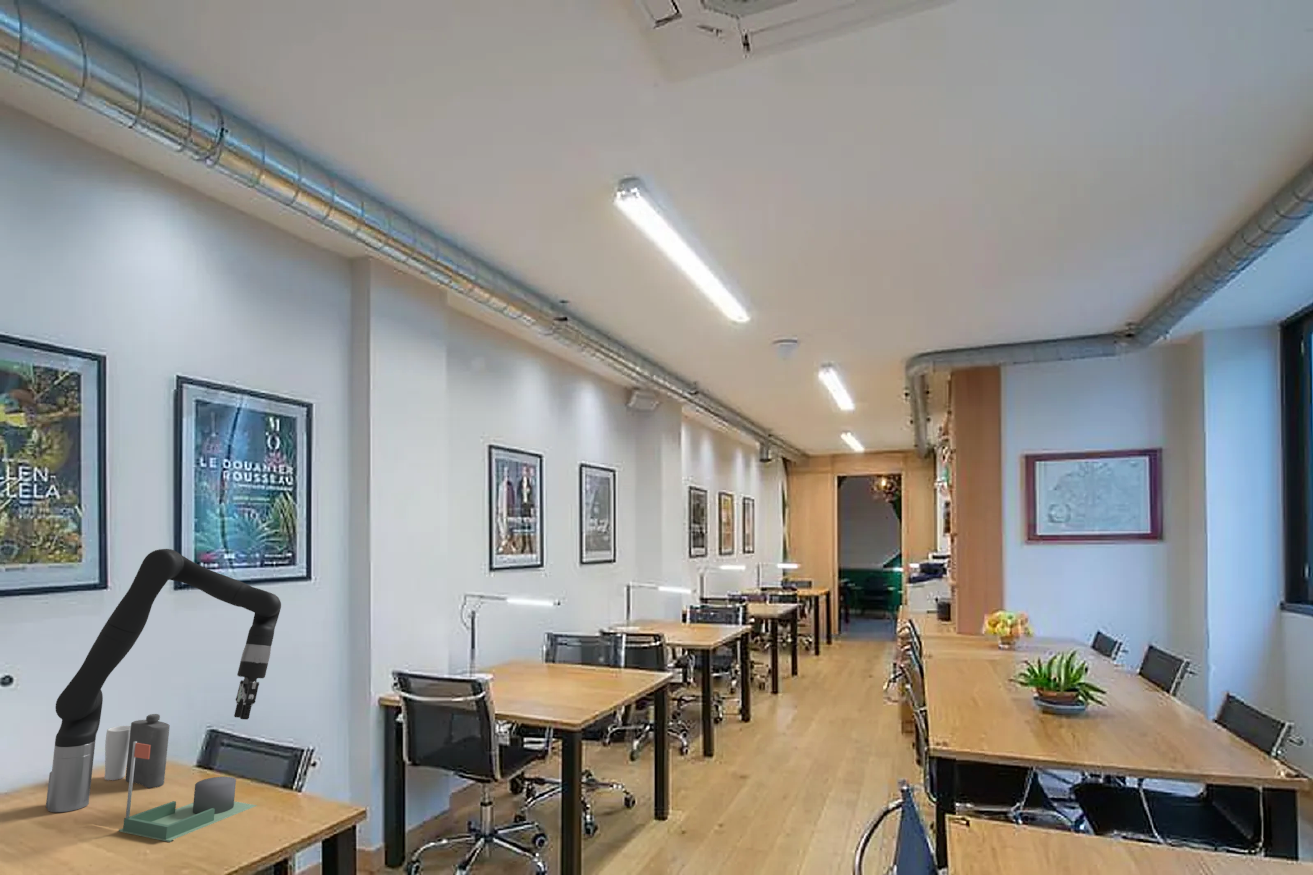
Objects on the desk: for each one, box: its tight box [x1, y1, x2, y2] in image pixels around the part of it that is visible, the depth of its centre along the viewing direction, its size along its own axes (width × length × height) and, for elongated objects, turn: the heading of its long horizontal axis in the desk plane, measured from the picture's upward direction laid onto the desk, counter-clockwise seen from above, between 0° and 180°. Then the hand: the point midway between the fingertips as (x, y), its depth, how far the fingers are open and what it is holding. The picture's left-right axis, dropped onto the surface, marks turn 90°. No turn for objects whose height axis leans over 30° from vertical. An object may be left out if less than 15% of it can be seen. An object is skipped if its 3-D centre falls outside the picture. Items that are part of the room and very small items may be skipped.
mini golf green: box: [118, 741, 258, 843], centre depth 211 cm, size 18×27×22 cm, turn 161°
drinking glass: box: [103, 725, 131, 781], centre depth 241 cm, size 7×7×15 cm
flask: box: [124, 713, 170, 789], centre depth 238 cm, size 15×6×20 cm, turn 63°
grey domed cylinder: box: [192, 776, 237, 814], centre depth 216 cm, size 10×10×7 cm
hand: (240, 718), depth 226 cm, fingers open, 8 cm apart
